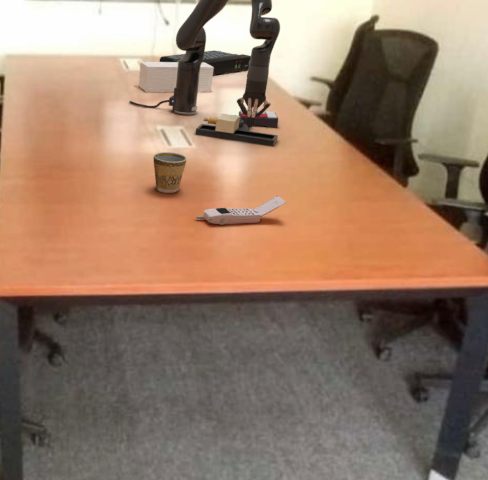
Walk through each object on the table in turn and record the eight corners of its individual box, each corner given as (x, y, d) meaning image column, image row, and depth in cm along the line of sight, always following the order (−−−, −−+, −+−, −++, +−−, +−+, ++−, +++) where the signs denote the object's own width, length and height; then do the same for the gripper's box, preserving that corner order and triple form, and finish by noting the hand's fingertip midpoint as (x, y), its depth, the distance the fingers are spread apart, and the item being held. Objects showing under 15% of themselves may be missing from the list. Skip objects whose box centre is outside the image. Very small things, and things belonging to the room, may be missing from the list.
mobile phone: (288, 202, 214) (205, 205, 208) (284, 222, 218) (203, 226, 211) (278, 195, 219) (197, 198, 212) (275, 215, 222) (195, 218, 216)
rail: (195, 134, 291) (196, 128, 290) (200, 129, 298) (201, 123, 296) (273, 146, 284) (274, 140, 282) (276, 141, 290) (277, 135, 289)
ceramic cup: (173, 197, 230) (176, 164, 224) (144, 189, 234) (147, 157, 228) (193, 186, 239) (197, 154, 233) (165, 179, 243) (168, 148, 238)
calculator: (238, 109, 314) (275, 110, 313) (238, 120, 316) (274, 120, 316) (241, 115, 305) (278, 116, 304) (240, 126, 307) (277, 127, 307)
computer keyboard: (214, 60, 424) (216, 47, 420) (254, 69, 408) (256, 56, 404) (159, 67, 396) (160, 53, 393) (199, 78, 380) (200, 63, 377)
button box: (215, 129, 300) (216, 120, 298) (221, 123, 307) (222, 115, 305) (245, 133, 297) (247, 125, 295) (250, 128, 304) (251, 120, 302)
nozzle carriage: (199, 132, 289) (201, 116, 286) (205, 126, 297) (207, 111, 294) (232, 137, 286) (234, 121, 283) (237, 131, 294) (240, 116, 290)
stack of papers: (202, 86, 364) (205, 62, 358) (210, 91, 355) (213, 67, 349) (138, 86, 355) (140, 61, 349) (145, 92, 347) (147, 66, 341)
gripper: (277, 78, 278) (269, 127, 288) (241, 74, 282) (235, 122, 291) (273, 82, 272) (265, 132, 282) (237, 77, 276) (230, 126, 285)
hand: (250, 127), depth 287 cm, fingers closed
